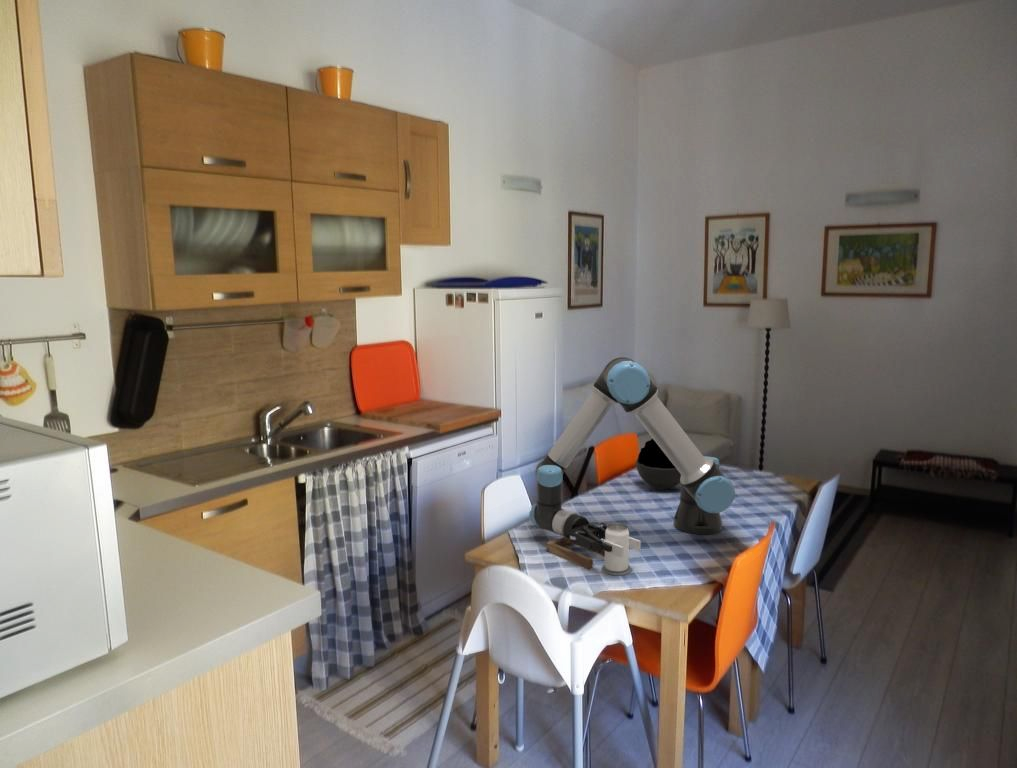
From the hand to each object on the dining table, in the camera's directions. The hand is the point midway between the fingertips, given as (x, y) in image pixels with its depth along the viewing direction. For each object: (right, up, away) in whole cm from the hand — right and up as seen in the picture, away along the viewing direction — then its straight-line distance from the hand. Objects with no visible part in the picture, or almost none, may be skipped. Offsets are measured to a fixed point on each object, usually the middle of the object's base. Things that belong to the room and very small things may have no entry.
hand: (630, 548), depth 196 cm
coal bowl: (+26, +5, +81) cm, 86 cm away
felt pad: (-3, -7, +5) cm, 9 cm away
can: (-3, -7, +5) cm, 9 cm away
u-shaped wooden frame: (-11, -5, +15) cm, 20 cm away
